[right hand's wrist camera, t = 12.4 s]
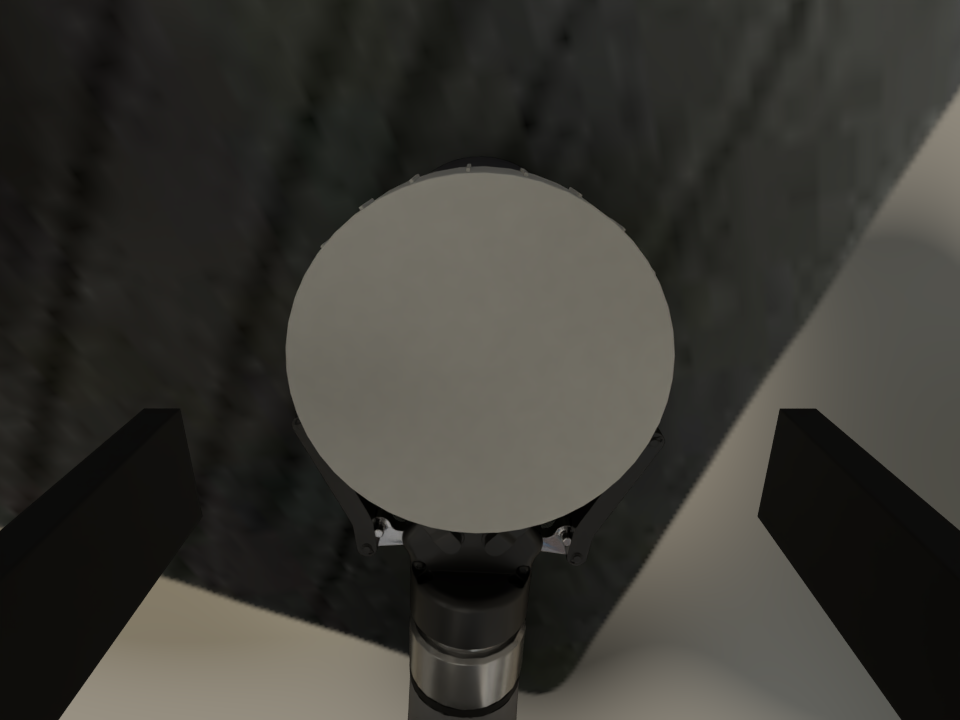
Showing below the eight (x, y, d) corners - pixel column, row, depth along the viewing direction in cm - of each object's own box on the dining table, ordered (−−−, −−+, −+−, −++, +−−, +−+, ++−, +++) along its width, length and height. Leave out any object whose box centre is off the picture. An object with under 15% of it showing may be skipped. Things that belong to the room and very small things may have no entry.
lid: (712, 226, 18) (745, 241, 16) (583, 524, 22) (595, 569, 20) (345, 112, 17) (325, 111, 15) (280, 449, 21) (256, 487, 19)
